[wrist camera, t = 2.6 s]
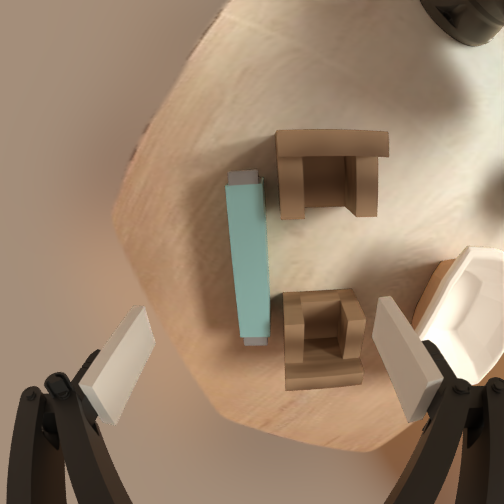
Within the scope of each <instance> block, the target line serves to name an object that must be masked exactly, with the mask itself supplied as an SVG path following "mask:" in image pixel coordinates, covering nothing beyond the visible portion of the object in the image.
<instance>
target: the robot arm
mask: <svg viewBox="0 0 504 504" xmlns="http://www.w3.org/2000/svg"><path fill="white" fill-rule="evenodd" d="M420 1H421V3H422V5H423V6H424V8H425V9H426V11H427V12H428V14H429V15H430V16H431V18H432V19H433V20H434V21H435V22H436V23H437V24H438V25H439V26H440V27H441V28H442V29H443V30H444V31H445V32H446V33H448V34H449V35H450V36H451V37H453V38H454V39H456V40H458V41H459V42H461V43H464V44H466V45H469V46H480V45H483V44H486V43H489V42H490V41H491V40H492V39H493V38H494V36H495V35H496V34H497V33H498V32H499V31H500V30H501V29H502V27H503V26H504V0H420ZM372 339H373V341H374V343H375V345H376V347H377V350H378V352H379V354H380V356H381V358H382V361H383V363H384V365H385V368H386V370H387V372H388V375H389V377H390V379H391V382H392V384H393V386H394V389H395V391H396V394H397V396H398V399H399V401H400V404H401V406H402V409H403V411H404V414H405V416H406V419H407V422H408V423H410V422H414V421H418V420H421V419H423V417H424V416H425V414H426V412H428V415H429V417H430V418H429V420H428V421H427V423H426V425H425V426H424V428H423V430H422V431H423V433H422V435H421V437H420V439H419V442H418V444H417V446H416V448H415V450H414V452H413V454H412V456H411V458H410V460H409V462H408V464H407V465H406V468H405V469H404V471H403V473H402V475H401V476H400V478H399V480H398V482H397V483H396V485H395V487H394V488H393V490H392V491H391V493H390V495H389V496H388V498H387V499H386V501H385V502H384V504H434V503H435V500H436V498H437V496H438V494H439V492H440V490H441V488H442V485H443V483H444V481H445V479H446V476H447V474H448V472H449V469H450V467H451V464H452V461H453V459H454V456H455V453H456V450H457V447H458V444H459V441H460V438H461V435H462V432H463V445H462V458H461V467H460V476H459V483H458V489H457V495H456V501H455V504H504V380H503V379H501V378H497V377H494V378H491V379H489V380H488V382H487V383H486V385H485V386H471V384H470V383H469V382H468V381H466V380H464V379H461V378H457V377H456V375H455V373H454V372H453V370H452V369H451V367H450V366H449V364H448V362H447V361H446V359H444V356H443V355H442V353H441V352H440V350H439V349H438V347H437V346H436V345H435V344H434V343H433V342H431V341H430V340H424V341H421V340H420V338H419V337H418V335H417V334H416V332H415V331H414V329H413V328H412V326H411V325H410V323H409V322H408V320H407V319H406V317H405V316H404V314H403V313H402V311H401V310H400V308H399V307H398V306H397V304H396V303H395V301H394V300H393V298H392V297H391V296H386V297H379V298H378V304H377V310H376V316H375V322H374V327H373V333H372ZM155 344H156V343H155V340H154V336H153V333H152V330H151V327H150V323H149V320H148V316H147V313H146V309H145V306H133V307H132V308H131V309H130V311H129V312H128V313H127V315H126V316H125V317H124V319H123V320H122V322H121V323H120V324H119V326H118V327H117V328H116V330H115V331H114V333H113V335H111V337H110V338H109V340H108V341H107V343H106V344H105V345H104V347H103V348H102V350H98V349H97V350H96V351H94V352H93V353H92V354H90V356H89V357H88V358H87V360H86V362H85V363H84V364H83V365H82V368H80V370H79V371H78V373H77V374H76V376H75V377H74V379H73V380H72V381H71V382H70V380H69V378H68V377H67V375H66V374H64V373H61V372H57V373H54V374H51V375H50V376H49V377H48V378H47V379H46V380H45V383H44V386H45V388H46V389H47V391H48V392H49V394H43V393H42V392H41V390H40V389H39V388H38V387H36V386H32V387H28V388H27V389H25V390H24V391H23V393H22V395H21V398H20V402H19V406H18V410H17V415H16V420H15V425H14V431H13V436H12V443H11V450H10V458H9V467H8V478H7V504H67V502H66V490H65V489H66V488H65V468H64V467H65V463H66V467H67V470H68V473H69V477H70V480H71V483H72V487H73V489H74V493H75V495H76V498H77V501H78V504H133V503H132V502H131V500H130V498H129V496H128V494H127V492H126V490H125V488H124V486H123V484H122V482H121V480H120V478H119V476H118V473H117V471H116V469H115V467H114V464H113V462H112V460H111V458H110V455H109V453H108V450H107V448H106V445H105V443H104V440H103V437H102V435H101V432H100V429H99V426H98V424H97V423H96V421H95V420H96V418H97V416H99V417H100V419H101V420H102V422H103V423H107V424H111V425H115V426H116V424H117V422H118V420H119V418H120V415H121V414H122V411H123V409H124V407H125V405H126V403H127V401H128V398H129V397H130V394H131V392H132V390H133V388H134V386H135V384H136V382H137V380H138V378H139V376H140V374H141V372H142V370H143V368H144V366H145V364H146V362H147V360H148V358H149V356H150V354H151V352H152V349H153V348H154V346H155Z"/></svg>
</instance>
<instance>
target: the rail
mask: <svg viewBox="0 0 504 504" xmlns="http://www.w3.org/2000/svg"><path fill="white" fill-rule="evenodd" d="M225 191H226V202H227V213H228V224H229V234H230V245H231V255H232V265H233V274H234V284H235V293H236V302H237V311H238V320H239V329H240V337H243V338H244V346H256V345H268V337H270V320H271V310H270V287H269V266H268V246H267V227H266V209H265V191H264V177H259V175H258V169H251V170H236V171H228V184H227V185H226V186H225Z"/></svg>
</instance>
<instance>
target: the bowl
mask: <svg viewBox="0 0 504 504" xmlns="http://www.w3.org/2000/svg"><path fill="white" fill-rule="evenodd" d="M412 328H413V329H414V331H415V332H416V334H417V335H418V337H419V338H420V340H421V341H424V340H430V341H431V342H433V343H434V344H435V345H436V346H437V347H438V349H439V350H440V352H441V353H442V355H443V356H444V359H446V361H447V362H448V364H449V366H450V367H451V369H452V370H453V372H454V373H455V375H456V377H457V378H461V379H464V380H466V381H468V382H469V383H470V384H471V385H474V384H477V383H479V382H480V381H481V380H482V379H483V378H484V376H485V375H486V374H487V373H488V372H489V371H490V370H491V369H492V368H493V367H494V365H495V364H496V363H497V361H498V360H499V358H500V357H501V356H502V354H503V353H504V251H501V250H498V249H495V248H492V247H480V246H467V247H466V248H465V249H464V250H463V251H462V253H461V254H460V255H459V256H458V257H457V258H456V259H451V260H446V261H441V262H440V264H439V265H438V267H437V268H436V270H435V271H434V273H433V274H432V276H431V278H430V280H429V282H428V284H427V286H426V288H425V290H424V292H423V294H422V296H421V298H420V300H419V302H418V304H417V306H416V309H415V312H414V316H413V319H412Z"/></svg>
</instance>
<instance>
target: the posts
mask: <svg viewBox="0 0 504 504" xmlns="http://www.w3.org/2000/svg"><path fill="white" fill-rule="evenodd" d="M275 142H276V157H277V173H278V190H279V206H280V214H281V220H286V219H305V213H304V208H307V207H341V206H345V207H346V208H347V209H348V210H349V211H350V212H351V213H352V214H353V215H355V216H356V217H377V207H378V157H389V136H388V132H384V131H368V130H339V129H304V130H277V131H276V133H275ZM283 319H284V356H285V389H286V391H293V390H310V389H323V388H334V387H344V386H352V385H360V384H362V380H363V376H364V369H363V366H362V363H361V360H360V353H361V348H362V342H363V337H364V331H365V325H366V317H365V315H364V313H363V311H362V309H361V306H360V304H359V302H358V300H357V298H356V296H355V294H354V292H353V290H352V289H339V290H322V291H304V292H283Z"/></svg>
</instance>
